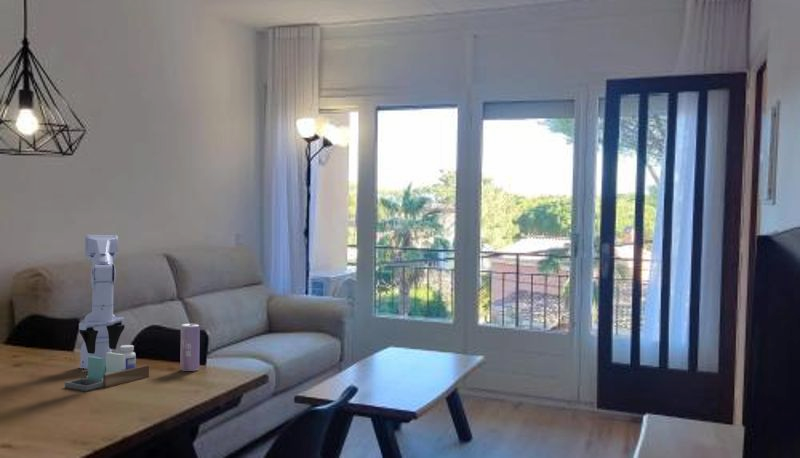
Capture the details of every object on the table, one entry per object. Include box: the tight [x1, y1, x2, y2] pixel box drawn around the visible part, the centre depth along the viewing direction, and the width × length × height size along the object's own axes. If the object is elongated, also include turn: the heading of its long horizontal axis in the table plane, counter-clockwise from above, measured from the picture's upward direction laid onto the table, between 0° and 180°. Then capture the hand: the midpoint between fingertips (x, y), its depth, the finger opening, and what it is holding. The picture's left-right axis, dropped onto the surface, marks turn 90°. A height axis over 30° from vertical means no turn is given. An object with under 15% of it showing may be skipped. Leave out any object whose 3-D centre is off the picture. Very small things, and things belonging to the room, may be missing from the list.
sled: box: [86, 352, 126, 382], centre depth 200 cm, size 7×8×8 cm
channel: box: [80, 364, 150, 388], centre depth 203 cm, size 11×16×4 cm
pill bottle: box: [118, 344, 137, 370], centre depth 207 cm, size 5×5×10 cm
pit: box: [64, 378, 105, 393], centre depth 194 cm, size 9×6×2 cm, turn 63°
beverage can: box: [179, 323, 201, 372], centre depth 218 cm, size 6×6×15 cm
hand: (102, 351), depth 195 cm, fingers open, 7 cm apart
